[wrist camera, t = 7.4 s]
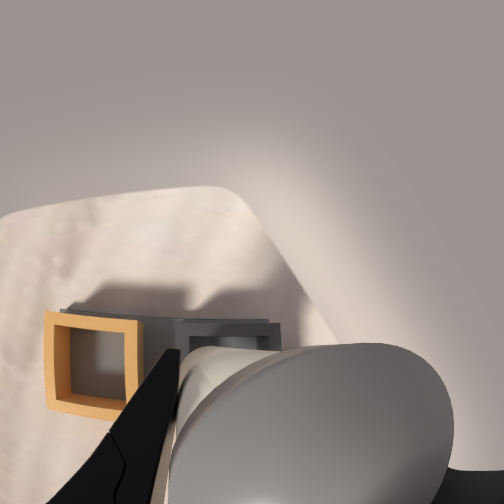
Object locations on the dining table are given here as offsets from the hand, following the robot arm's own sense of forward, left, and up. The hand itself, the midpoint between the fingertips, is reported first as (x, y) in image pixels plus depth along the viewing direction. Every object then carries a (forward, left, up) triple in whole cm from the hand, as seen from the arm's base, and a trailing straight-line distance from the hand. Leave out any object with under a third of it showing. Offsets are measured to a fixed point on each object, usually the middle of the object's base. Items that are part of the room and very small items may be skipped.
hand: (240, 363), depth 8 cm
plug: (-1, +1, -7) cm, 7 cm away
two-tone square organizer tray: (-1, +4, -13) cm, 13 cm away
